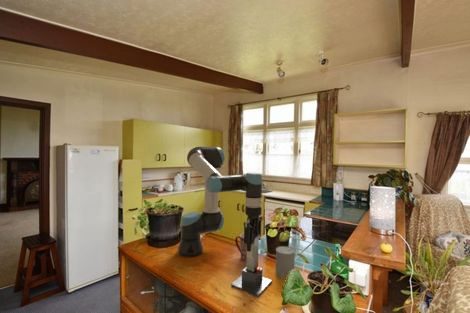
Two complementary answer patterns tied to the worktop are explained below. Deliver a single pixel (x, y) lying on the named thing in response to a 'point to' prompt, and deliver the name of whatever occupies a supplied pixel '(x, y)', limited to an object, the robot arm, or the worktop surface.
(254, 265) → the column
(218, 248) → the worktop surface
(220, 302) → the worktop surface
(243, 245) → the mug
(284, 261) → the gray cylinder
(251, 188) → the robot arm
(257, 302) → the worktop surface
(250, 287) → the stand base
